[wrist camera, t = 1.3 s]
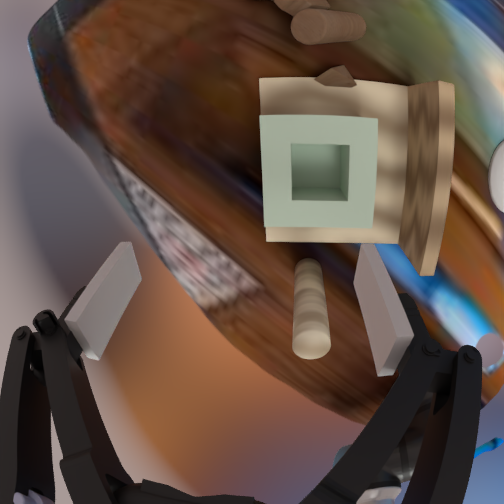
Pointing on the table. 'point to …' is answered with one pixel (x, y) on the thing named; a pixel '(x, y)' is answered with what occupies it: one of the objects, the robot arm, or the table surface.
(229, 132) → the table surface
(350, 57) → the table surface
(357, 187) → the sliding block
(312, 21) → the wooden block set
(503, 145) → the candlestick
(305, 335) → the dowel
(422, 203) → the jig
